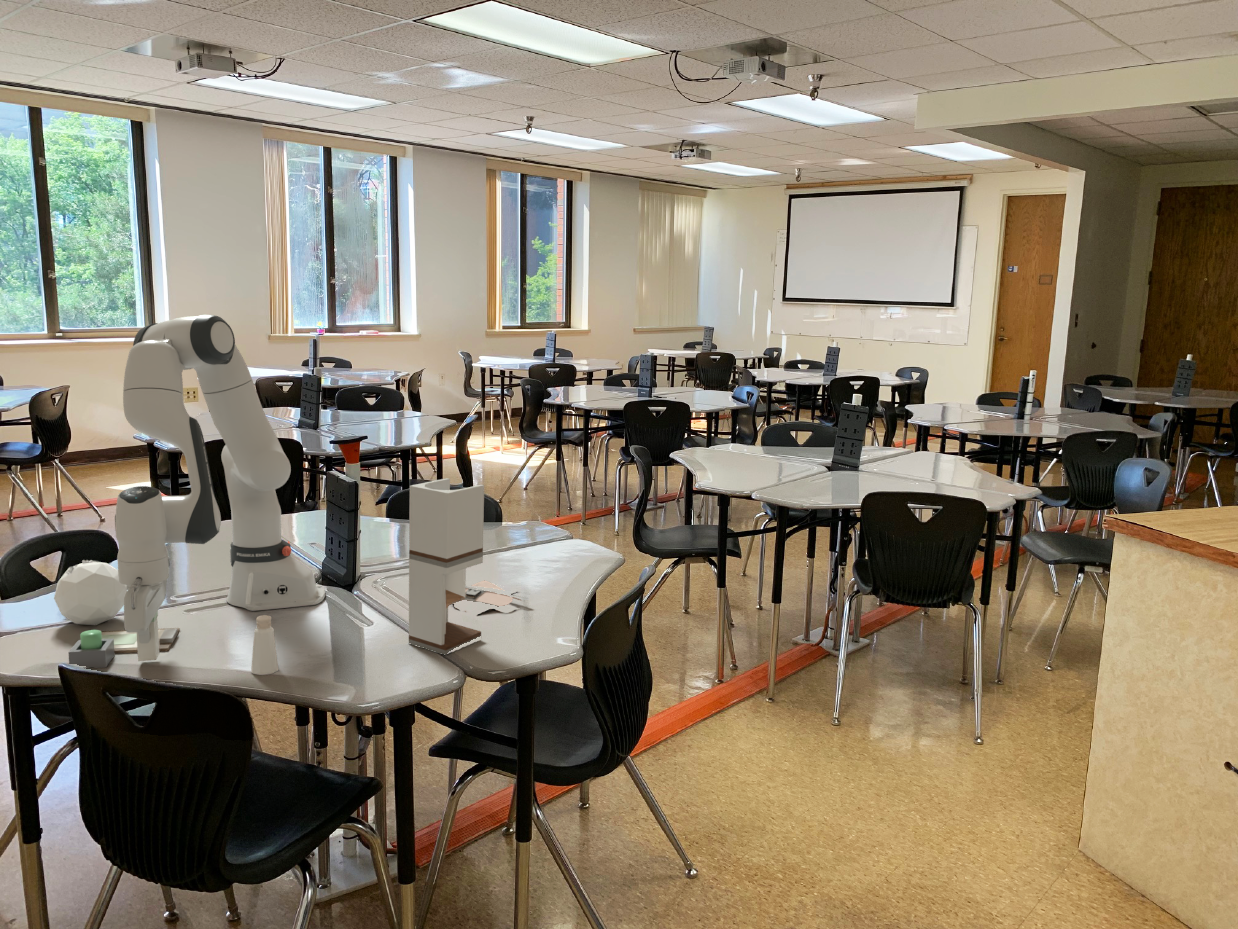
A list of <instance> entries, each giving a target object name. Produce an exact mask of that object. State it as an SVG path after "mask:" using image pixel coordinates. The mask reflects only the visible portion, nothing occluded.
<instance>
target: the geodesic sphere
mask: <svg viewBox="0 0 1238 929" xmlns="http://www.w3.org/2000/svg"><path fill="white" fill-rule="evenodd" d="M81 562H82V563H79V564H75V565H73V566H69V567H68V568H67V570H66V571H65V572H64V573H63V574H62V576H61V578H60V579H59V580H58V581H57V584H56V588H55V592H54V597H53V599H54V602H55V604H56V606H57V608H58V610H59V612H60V614H61V616H63V617H64V618H66V619H68V620H69V621H70V622H72V623H74V624H75V625H85V626H86V625H87V626H98V625H100V624H102V623H104V622H107V621H109V620H111V619H114V618H116V615H118V613H119V612H120V611H121V609H122V608H124V597H125V594H126V592H127V591H128V590H127V587H126V585H124V584H121V583H120V582H119V577H118V568H116V567H114V566H112V565H111V564H110V563H107V562H101V561H99V560H92V559H90V560H88V559H86V560H85V559H83V560H82V561H81Z"/></svg>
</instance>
